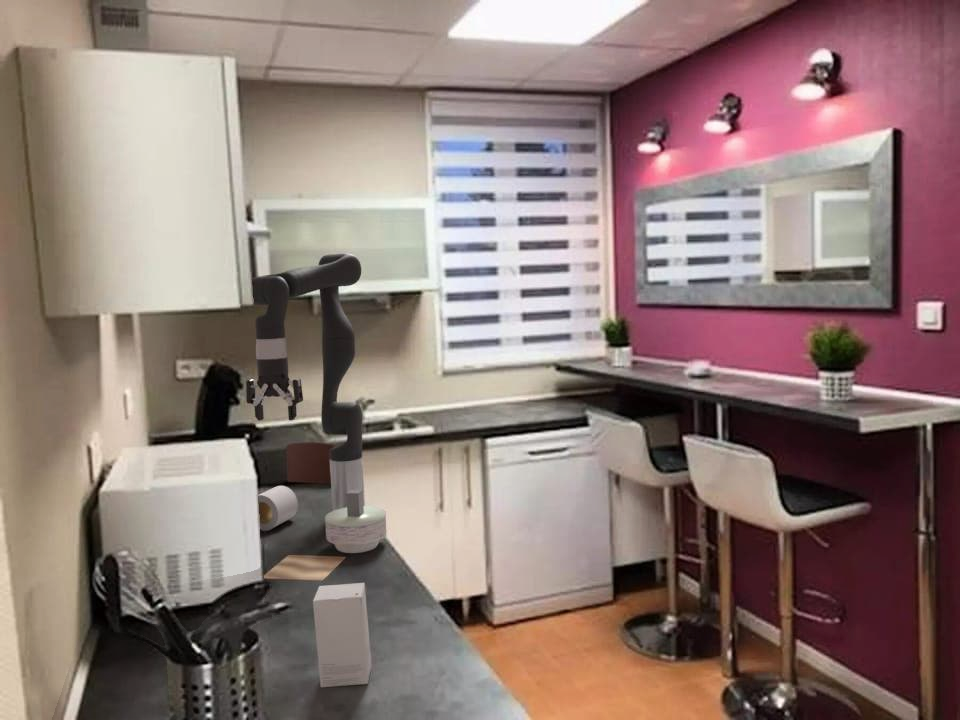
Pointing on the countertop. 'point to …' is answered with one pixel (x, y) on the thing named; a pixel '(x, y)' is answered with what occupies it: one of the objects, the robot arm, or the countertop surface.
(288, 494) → the toilet paper
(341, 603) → the skincare box
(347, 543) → the paper bowls
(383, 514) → the lid
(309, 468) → the letter holder
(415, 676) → the countertop surface
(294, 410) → the robot arm
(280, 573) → the mat
